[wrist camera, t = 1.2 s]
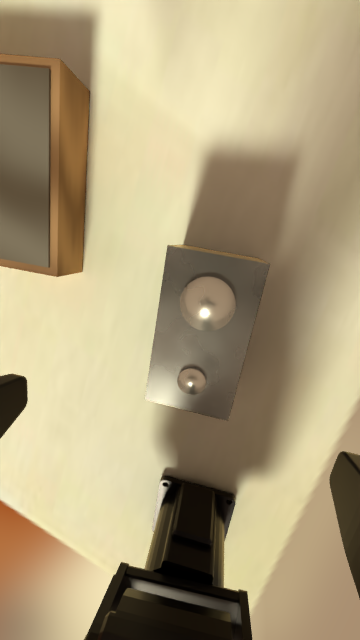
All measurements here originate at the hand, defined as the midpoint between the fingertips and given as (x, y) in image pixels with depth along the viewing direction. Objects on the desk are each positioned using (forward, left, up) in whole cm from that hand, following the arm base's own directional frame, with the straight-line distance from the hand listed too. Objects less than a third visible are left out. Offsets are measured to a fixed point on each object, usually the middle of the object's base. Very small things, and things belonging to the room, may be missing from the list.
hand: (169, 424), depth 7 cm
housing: (0, 0, -12) cm, 12 cm away
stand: (+7, +15, -12) cm, 20 cm away
